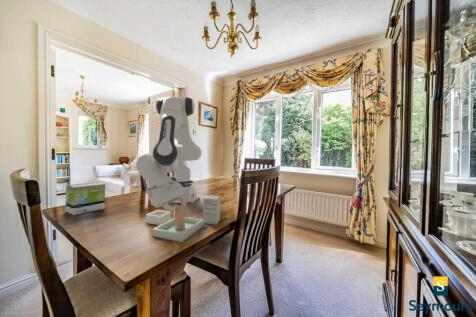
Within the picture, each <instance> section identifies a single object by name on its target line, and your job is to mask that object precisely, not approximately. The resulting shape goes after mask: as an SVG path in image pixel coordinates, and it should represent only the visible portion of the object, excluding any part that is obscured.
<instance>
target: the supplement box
mask: <svg viewBox="0 0 476 317" xmlns="http://www.w3.org/2000/svg"><path fill="white" fill-rule="evenodd" d="M221 199H222V197H221V195H212V194H211V195H210V194H207V195H206V196H205V197H203V199H202V200H203V201H202V202H203V204H202V219H203V220H204V224H206V225H207V224H208V225H209V224H210V225H217V224H218V223H219V222H220V220H221Z"/></svg>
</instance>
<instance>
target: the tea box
mask: <svg viewBox="0 0 476 317" xmlns="http://www.w3.org/2000/svg"><path fill="white" fill-rule="evenodd" d="M105 201H106V184H105V183H101V182H87V183H86V182H85V183H75V184H74V183H73V184H66V185H65V210H64V211H65V212H66V213H67V212H68V213H67V214H70V215H72V216H76V215H80V214H85V213H91V212H94V211H100V210H104V209H105V207H106V205H105V203H106V202H105Z"/></svg>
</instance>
